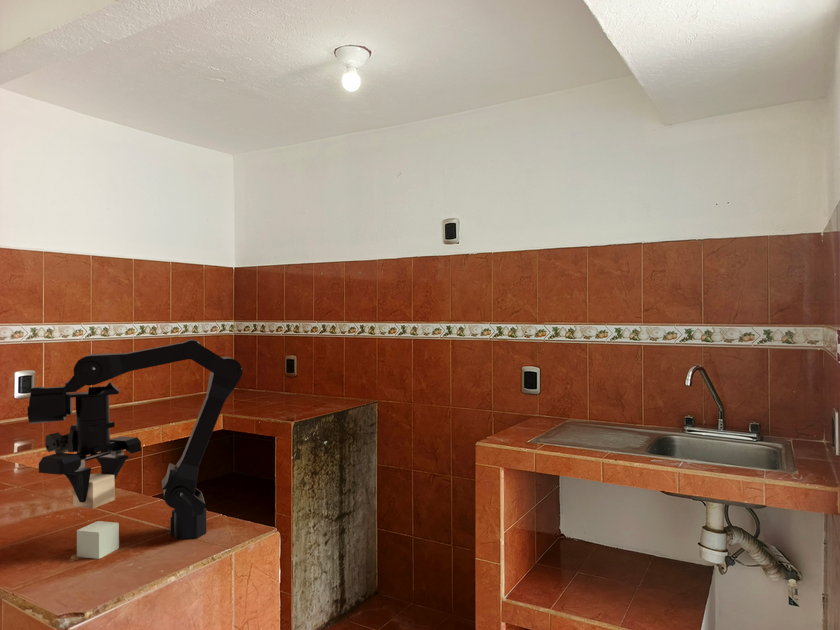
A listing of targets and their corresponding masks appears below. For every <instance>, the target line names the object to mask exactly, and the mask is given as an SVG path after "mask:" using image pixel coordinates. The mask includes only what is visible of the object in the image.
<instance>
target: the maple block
mask: <svg viewBox="0 0 840 630" xmlns="http://www.w3.org/2000/svg"><path fill="white" fill-rule="evenodd" d="M115 485H116V484H115V481H114V475H109V474H101V473H98V472H97V473H96V472H95V473H92V474H91V473H90V480H89V486H88V493H87V497H86V501H85V502H84V503H82V502H79V500H78V497H77V495H76V493H75V491H74V489H73V488H72V499H73V500H72V503H73V505H72V506H73V507H78V508H87V509H95V508H97V507H100V506H103V505H106V504H108V503H110V502H113V501H116V495H115V494H116V492H115V489H116V487H115Z"/></svg>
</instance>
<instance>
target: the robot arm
mask: <svg viewBox="0 0 840 630" xmlns="http://www.w3.org/2000/svg"><path fill="white" fill-rule="evenodd" d="M186 360H191V361H193V362H195V363H197V365H199V366H201V367H203V368H205V370H208V371H209V372H210V373H209V377H208V381H207V389H206V390H207V391H206V395H205V398H204V401H203V403H202V405H201V408H200V410H199V413H198V416H197V419H196V420H195V423H194V425H193V428H192V430H191V432H190V435H189V438H188V440H187V443H186V445H185V448H184V451H183V452H182V455H181V457H180V458H179V460H178V461H177V463H176V464H174V463H169V462H168V467H167V471H166V474H165V476H164V477H163V478H162V480H161V490H162V491H163V499H164V502H165V503H166V505H167V506H168V507H169V508H172V509H173V510H171V516H170V519H169V520H170V533H169V534H170V536H171V537H174V538H175V539H176V540H180V541H187V540H193V539H194V540H197V539H200V538H201V537H203V536H205V535H206V534H207V508H206V505H207V504H206V502H205V498H204V496H203V492H202V491H201V490H199V489H198V488H197V485H198V484H197V483H198V478H199V472H200V465H201V462H202V459H203V457H204V454H205V452H206V450H207V447H208V444H209V443H210V440H211V437H212V434H213V432H214V430H215V427H216V425H217V422H218V420H219V417H220V415H221V411H222V410H223V407H224V404H225V402H226V401H227V399H228V398H229V397H230V395H231V394H232V393H233V392H234V390H235V389H236V387H237V385H238V384H239V382H240V380H241V378H242V377H243V372H244V371H243V367H242V365H241V363H240V362H239V361H238V360H236V359H234V358H232V357H230V356H220V355H218V354H217V353H215V352H213V351H212V350H210V349H208V348H206V347H205V346H204V345H202V344H201V342H199V341H198V340H195V339H187V340H185V341H183V342H176V343H173V344H167V345H166V344H165V345H161V346H155V347H151V348H145V349H142V350H135V351H131V352H120V353H119V352H117V353H115V352H114V353H113V352H112V353H110V352H109V353H107V352H105V353H90V354H87V355H85V356H83V357H81V358H80V359H78V360H77V362H76V363H75V364H74V366H73V376H72V377H71V378H70V379H69V380H67V381H66V382H65V383H64V385H63V386H62V385H61V386H48V387H47V386H46V387H45V386H33V387H32V388H30V396H29V400H28V406H27V420H28V422H29V424H31V425H32V424H39V423H40V424H43V423H56V422H65V421H66V419H67V417H68V416H72V415H73V406H74V403H73V401H74V400H73V398H75V424H71V425H70V427H69V433H67V434H61V433H60V432H59V431H58V432H53V433H50V434H48V435H45V442H44V446H45V449H46V451H47V452H49V453H50V452H53V451H54V454H53V453H52V454H50V455H49V454H48V455H45V456H43V457H41V458H40V460H39V462H38V473H39V474H48V475H49V474H50V475H58V476H59V475H64V476H65V477H66V478H67V480H68V481H69V483H70V484H71V487H72V490H73V489H74V491H75V493H76V495H77V497H78V500H79V502H82V503H84V502H85V501H86V497H87V493H88V486H89V480H90V475H91V472H92V468H91V467H86V462H87V461H90V460H91V461H92V460H93V459H96V460H97V461H98V463H99V465H100V471H101V472H100V474H109V475H114V482H115V480H116V479H117V476H118V475H119V473H120V470H121V469H122V467H123V466H124V464H125V462H126V460H128V459H130V455H126V454H125V452H127V453H128V454H135V453H137V452H138V453H139V452H141V451H142V442H141V440H140V439H139V437H138V436H135V437H134V436H122V435H121V436H117V437H113V438H111V431H110V430H111V429H112V428H115V427H116V426H115V421H110V396H113V395H119V393H120V391H121V390H120V388H118V387H117V386H116V385H114V383H113V382H112V381H109V380H111V379H114V378H117V377H118V376H121V375H123V374H126V373H129V372H133V371H138V370H142V369H148V368H151V367H157V366H162V365H167V364H172V363H176V362H181V361H186ZM107 381H109V382H108V383H107V384H106V385H102V386H96V385H99V384H101V383H103V382H107ZM85 386H89V387H88V391H81V392H78V391H80V390H81V389H82V388H84V387H85ZM124 450H125V452H124Z"/></svg>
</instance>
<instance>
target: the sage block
mask: <svg viewBox="0 0 840 630" xmlns="http://www.w3.org/2000/svg"><path fill="white" fill-rule="evenodd" d="M119 527H120V525H119V522H112V521H102V520H101V521H99V520H96V521H94V522H92V523H90V524H88V525H86V526H84V527H81V528H79V529H77V530H76V554H77V557H84V558H88V559H96V560H100V559H102V558H103V557H105V556H108V555H110V554H111V553H113V552H114V551H117V550H118V549H119V548H120V531H119V530H120V528H119Z"/></svg>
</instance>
